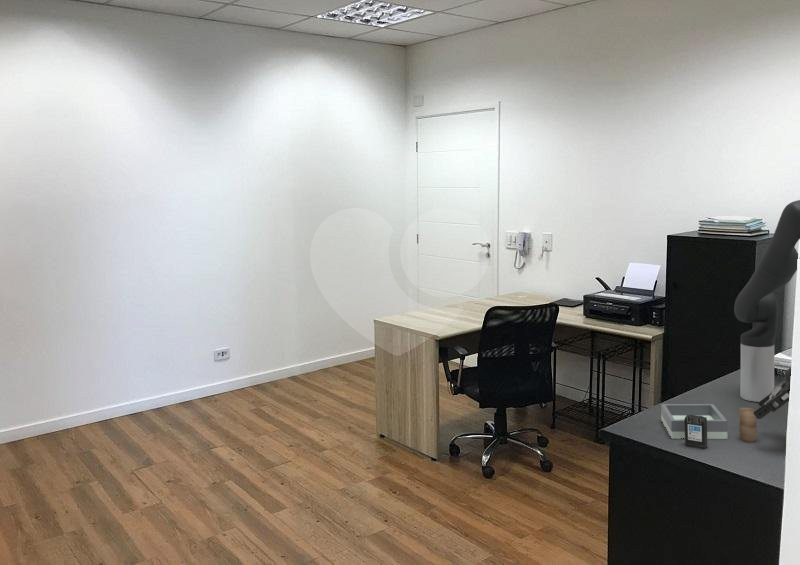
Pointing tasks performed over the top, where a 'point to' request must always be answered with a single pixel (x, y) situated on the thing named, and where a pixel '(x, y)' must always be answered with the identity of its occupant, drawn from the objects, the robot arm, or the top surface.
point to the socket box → (677, 412)
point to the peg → (747, 425)
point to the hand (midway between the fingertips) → (758, 411)
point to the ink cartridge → (695, 431)
